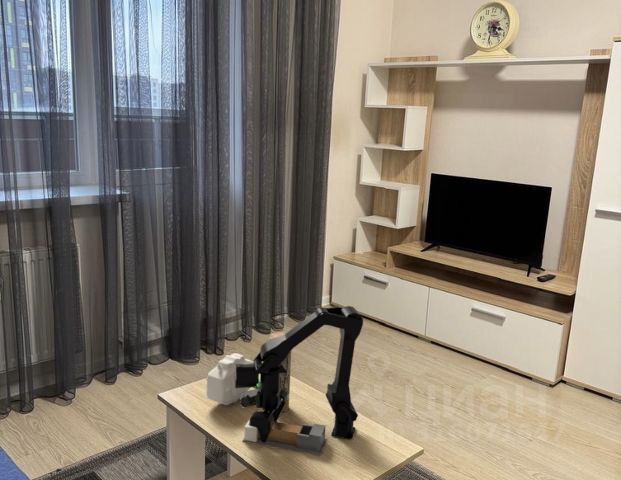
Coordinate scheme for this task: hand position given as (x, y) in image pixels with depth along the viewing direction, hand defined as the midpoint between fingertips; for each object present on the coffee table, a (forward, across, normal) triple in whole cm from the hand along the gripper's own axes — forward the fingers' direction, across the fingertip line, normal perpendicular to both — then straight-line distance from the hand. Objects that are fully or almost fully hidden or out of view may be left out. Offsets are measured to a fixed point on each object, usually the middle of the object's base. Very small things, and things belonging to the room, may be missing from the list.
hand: (268, 433), depth 174 cm
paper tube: (+2, -18, -2) cm, 18 cm away
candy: (+2, -30, -12) cm, 32 cm away
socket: (+1, 0, -4) cm, 4 cm away
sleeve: (+1, 0, +13) cm, 13 cm away
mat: (+1, 0, +5) cm, 5 cm away
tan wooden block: (+1, 0, +2) cm, 3 cm away
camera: (+2, -18, -18) cm, 25 cm away
